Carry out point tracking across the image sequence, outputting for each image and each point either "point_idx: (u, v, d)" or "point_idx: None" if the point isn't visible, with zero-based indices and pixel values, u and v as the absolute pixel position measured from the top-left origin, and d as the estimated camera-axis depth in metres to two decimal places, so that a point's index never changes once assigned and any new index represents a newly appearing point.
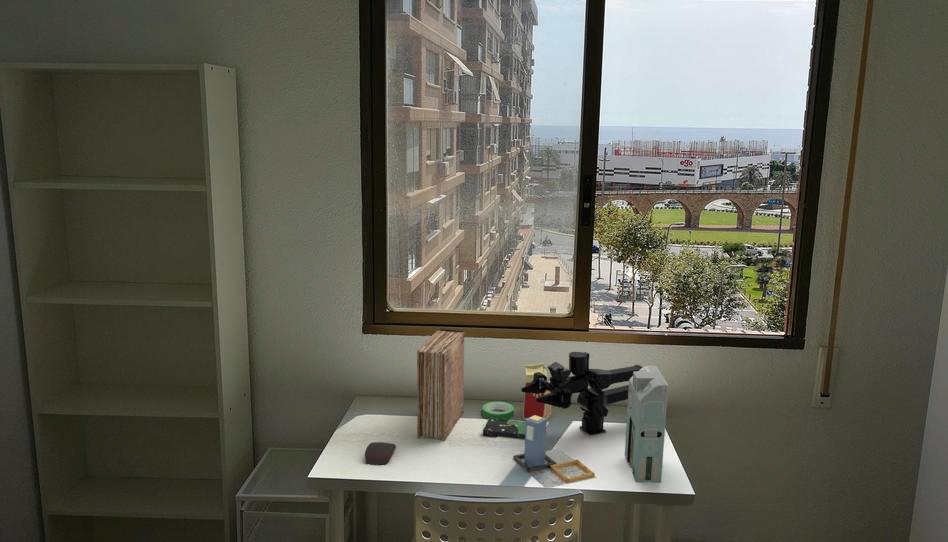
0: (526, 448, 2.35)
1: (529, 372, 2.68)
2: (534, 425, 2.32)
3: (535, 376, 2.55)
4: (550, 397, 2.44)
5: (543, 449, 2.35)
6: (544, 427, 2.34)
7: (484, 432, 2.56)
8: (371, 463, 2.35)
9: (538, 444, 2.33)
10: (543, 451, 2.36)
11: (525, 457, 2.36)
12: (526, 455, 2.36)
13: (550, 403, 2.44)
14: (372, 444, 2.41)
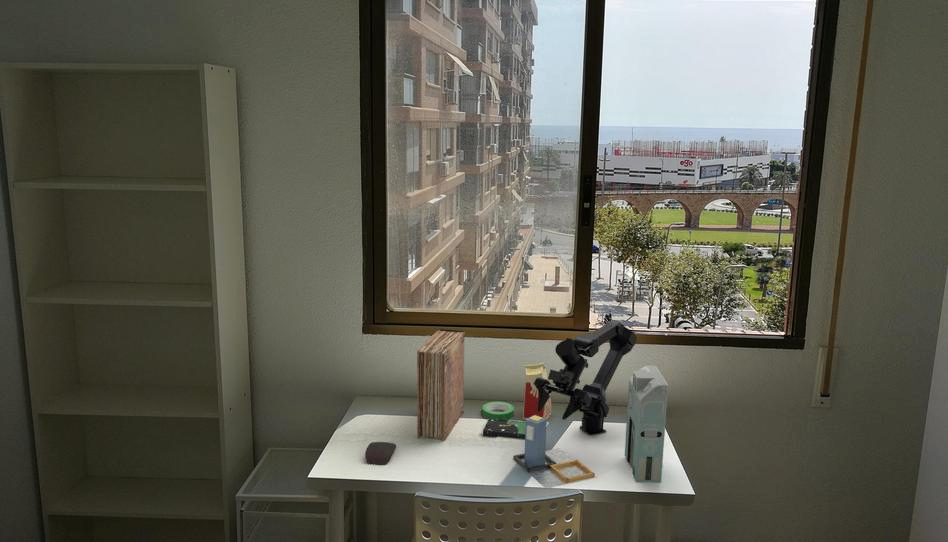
0: (526, 448, 2.35)
1: (529, 372, 2.68)
2: (534, 425, 2.32)
3: (538, 387, 2.45)
4: (572, 407, 2.38)
5: (543, 449, 2.35)
6: (544, 427, 2.34)
7: (484, 432, 2.56)
8: (372, 463, 2.35)
9: (538, 444, 2.33)
10: (543, 451, 2.36)
11: (525, 457, 2.36)
12: (526, 455, 2.36)
13: (574, 410, 2.39)
14: (372, 444, 2.41)
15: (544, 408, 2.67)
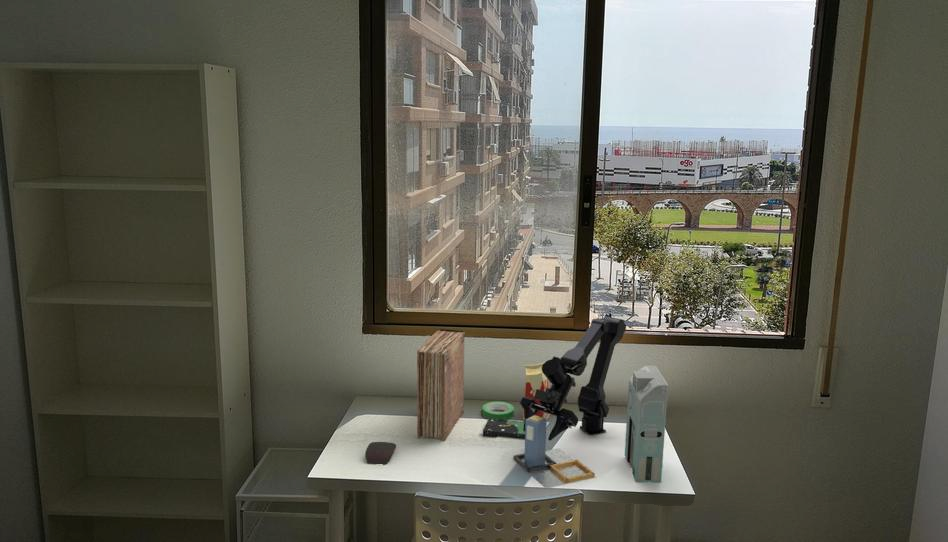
0: (526, 448, 2.35)
1: (529, 372, 2.68)
2: (534, 425, 2.32)
3: (524, 407, 2.40)
4: (558, 427, 2.33)
5: (543, 449, 2.35)
6: (544, 427, 2.34)
7: (484, 432, 2.56)
8: (372, 463, 2.36)
9: (538, 444, 2.33)
10: (543, 451, 2.36)
11: (525, 457, 2.36)
12: (526, 455, 2.36)
13: (561, 431, 2.34)
14: (372, 444, 2.42)
15: None
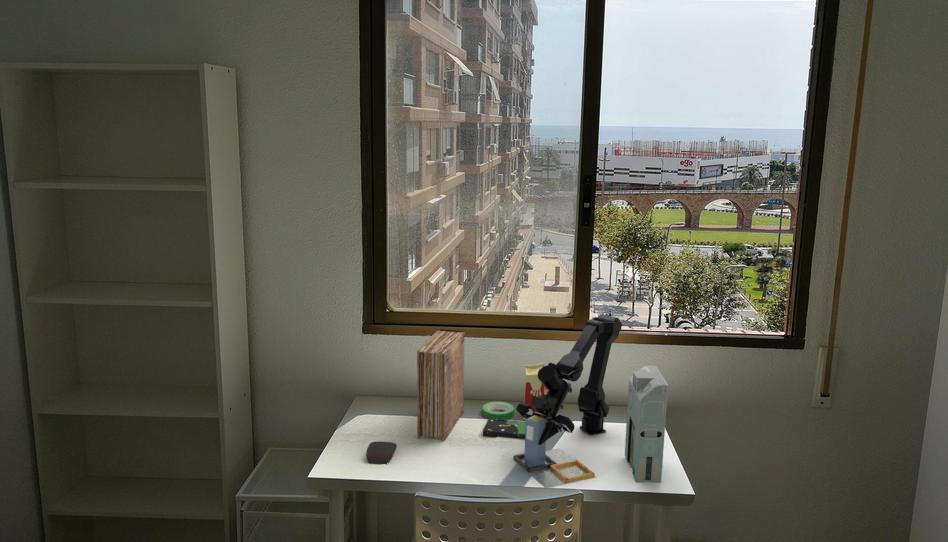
0: (526, 448, 2.35)
1: (529, 372, 2.68)
2: (534, 425, 2.32)
3: (526, 415, 2.38)
4: (548, 432, 2.34)
5: (543, 449, 2.35)
6: (544, 427, 2.34)
7: (484, 432, 2.56)
8: (373, 462, 2.36)
9: (538, 444, 2.33)
10: (543, 451, 2.36)
11: (525, 457, 2.36)
12: (526, 455, 2.36)
13: (551, 435, 2.35)
14: (373, 443, 2.42)
15: None
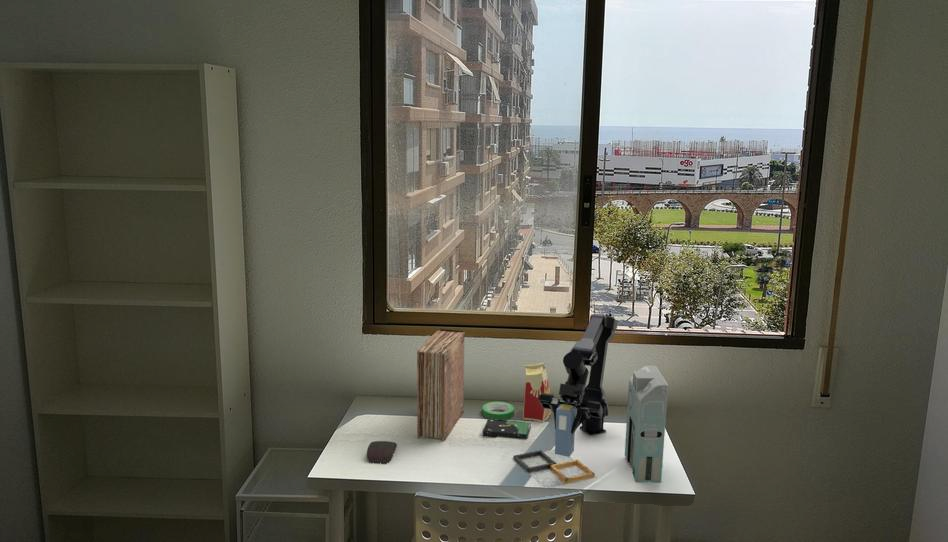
0: (557, 439, 2.28)
1: (529, 372, 2.68)
2: (566, 414, 2.25)
3: (552, 405, 2.31)
4: (579, 419, 2.28)
5: (573, 437, 2.30)
6: (574, 415, 2.28)
7: (484, 432, 2.56)
8: (373, 462, 2.36)
9: (571, 433, 2.27)
10: (573, 439, 2.30)
11: (556, 448, 2.29)
12: (557, 446, 2.29)
13: (580, 422, 2.30)
14: (373, 443, 2.42)
15: (544, 408, 2.67)
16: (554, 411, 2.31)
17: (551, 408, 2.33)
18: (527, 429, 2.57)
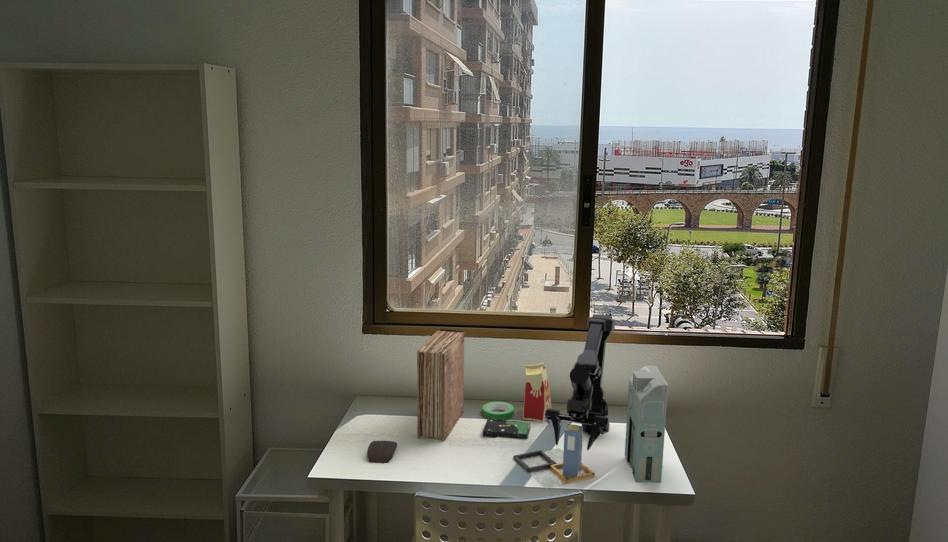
0: (565, 459, 2.28)
1: (529, 372, 2.68)
2: (575, 435, 2.26)
3: (552, 419, 2.31)
4: (594, 435, 2.28)
5: (580, 457, 2.30)
6: (581, 435, 2.29)
7: (484, 433, 2.55)
8: (374, 461, 2.36)
9: (579, 453, 2.28)
10: (580, 459, 2.31)
11: (564, 468, 2.29)
12: (565, 466, 2.29)
13: (595, 438, 2.29)
14: (374, 442, 2.42)
15: (544, 408, 2.67)
16: (554, 426, 2.31)
17: (550, 423, 2.33)
18: (527, 429, 2.57)
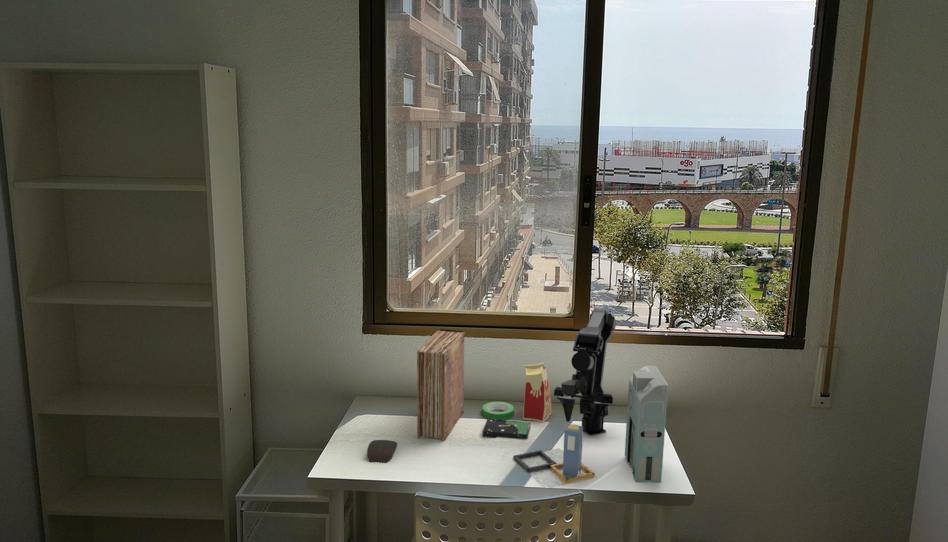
0: (565, 459, 2.28)
1: (529, 372, 2.68)
2: (575, 435, 2.26)
3: (559, 399, 2.40)
4: (595, 411, 2.33)
5: (580, 457, 2.30)
6: (581, 435, 2.29)
7: (484, 433, 2.55)
8: (373, 460, 2.37)
9: (579, 453, 2.28)
10: (580, 459, 2.31)
11: (564, 468, 2.29)
12: (565, 466, 2.29)
13: (600, 412, 2.34)
14: (374, 442, 2.43)
15: (544, 408, 2.67)
16: (563, 404, 2.40)
17: None
18: (527, 429, 2.57)
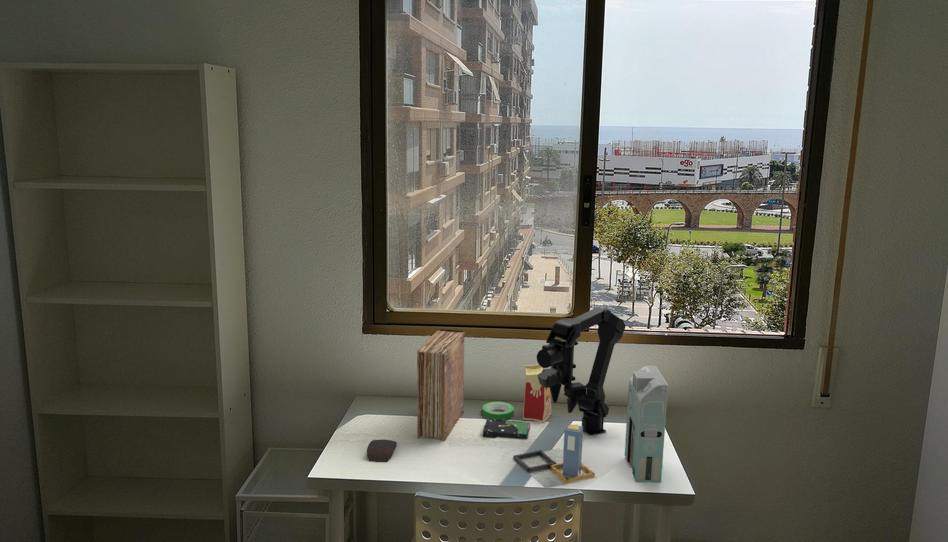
0: (565, 459, 2.28)
1: (529, 372, 2.68)
2: (575, 435, 2.26)
3: None
4: (571, 400, 2.41)
5: (580, 457, 2.30)
6: (581, 435, 2.29)
7: (484, 433, 2.55)
8: (373, 460, 2.37)
9: (579, 453, 2.28)
10: (580, 459, 2.31)
11: (564, 468, 2.29)
12: (565, 466, 2.29)
13: (577, 400, 2.41)
14: (374, 441, 2.43)
15: (544, 408, 2.67)
16: (549, 386, 2.51)
17: None
18: (527, 429, 2.57)
